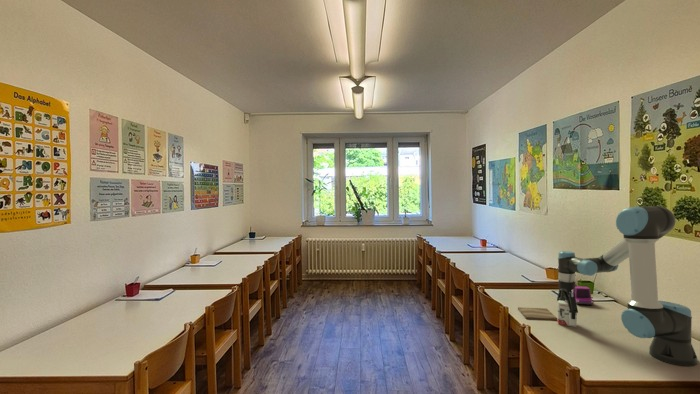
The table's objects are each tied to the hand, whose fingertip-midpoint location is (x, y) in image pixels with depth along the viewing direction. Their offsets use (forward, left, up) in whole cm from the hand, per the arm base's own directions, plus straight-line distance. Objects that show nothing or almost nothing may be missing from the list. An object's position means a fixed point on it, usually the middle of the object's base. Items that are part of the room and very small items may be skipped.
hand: (567, 320), depth 189 cm
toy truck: (+40, -23, -3) cm, 46 cm away
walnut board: (+13, +11, -2) cm, 17 cm away
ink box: (0, 0, -2) cm, 2 cm away
